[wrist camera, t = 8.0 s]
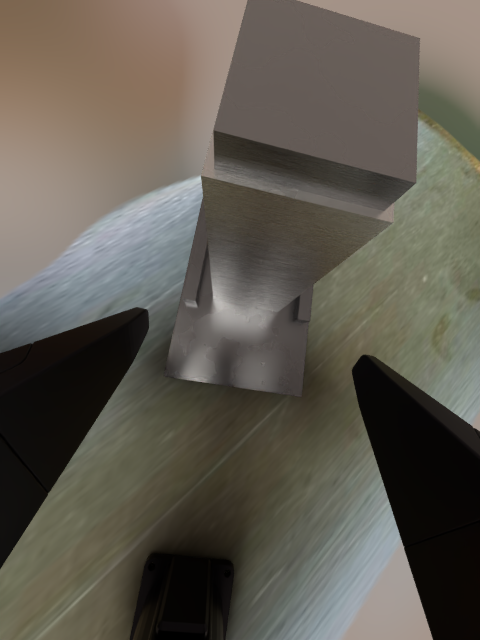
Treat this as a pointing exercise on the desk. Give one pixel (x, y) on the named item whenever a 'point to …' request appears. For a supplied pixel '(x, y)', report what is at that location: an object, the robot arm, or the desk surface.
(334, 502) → the desk surface
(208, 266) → the grey base plate
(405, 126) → the block
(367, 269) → the desk surface
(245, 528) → the desk surface
